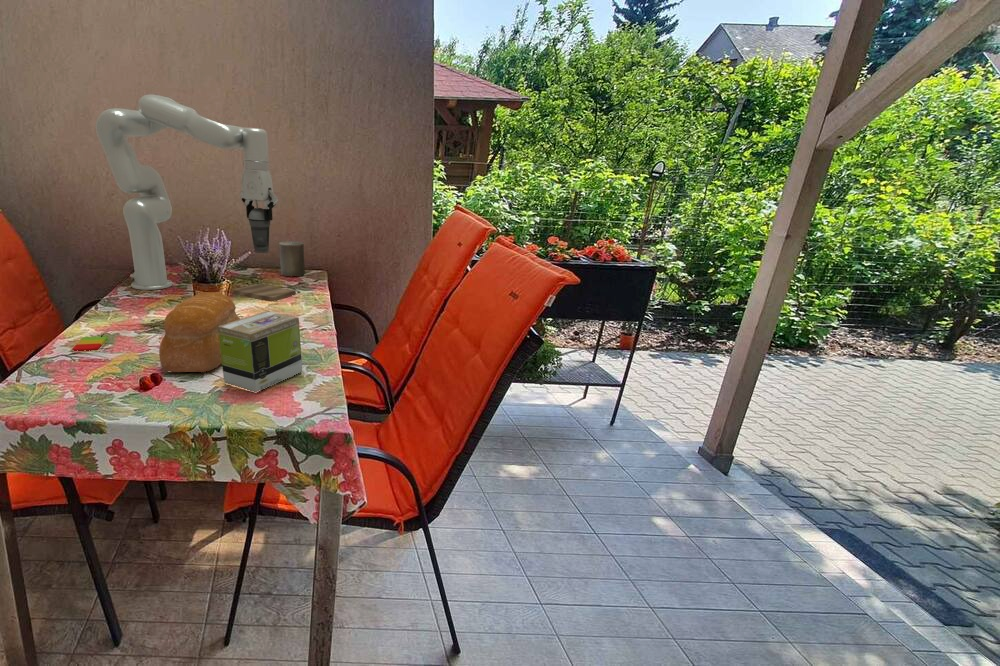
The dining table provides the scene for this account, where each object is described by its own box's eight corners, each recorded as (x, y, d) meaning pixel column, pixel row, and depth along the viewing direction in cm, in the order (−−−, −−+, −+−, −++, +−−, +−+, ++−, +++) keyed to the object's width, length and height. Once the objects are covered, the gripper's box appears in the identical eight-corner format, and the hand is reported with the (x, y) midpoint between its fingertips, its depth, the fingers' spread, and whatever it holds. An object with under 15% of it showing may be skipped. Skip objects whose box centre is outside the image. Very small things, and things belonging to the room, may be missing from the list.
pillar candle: (309, 276, 227) (307, 241, 223) (287, 278, 220) (285, 242, 216) (298, 271, 234) (296, 237, 229) (276, 273, 227) (274, 238, 222)
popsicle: (71, 356, 131) (70, 349, 131) (90, 336, 144) (89, 330, 144) (98, 355, 133) (97, 348, 133) (114, 335, 146) (113, 329, 146)
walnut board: (232, 293, 192) (232, 289, 192) (257, 287, 203) (256, 283, 203) (272, 301, 187) (272, 297, 187) (295, 294, 198) (295, 290, 198)
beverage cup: (262, 254, 186) (258, 196, 180) (245, 251, 188) (241, 194, 182) (277, 251, 193) (274, 195, 186) (260, 249, 195) (257, 193, 189)
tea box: (272, 364, 135) (268, 309, 130) (303, 373, 132) (301, 316, 127) (222, 385, 122) (216, 324, 117) (255, 395, 118) (251, 332, 114)
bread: (247, 339, 151) (244, 287, 146) (216, 375, 127) (210, 315, 122) (196, 338, 149) (191, 285, 144) (154, 375, 124) (146, 313, 119)
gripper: (228, 164, 180) (231, 216, 186) (269, 168, 175) (272, 222, 181) (244, 164, 187) (248, 215, 193) (285, 168, 182) (287, 221, 188)
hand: (259, 218), depth 187 cm, fingers closed on beverage cup, 7 cm apart
